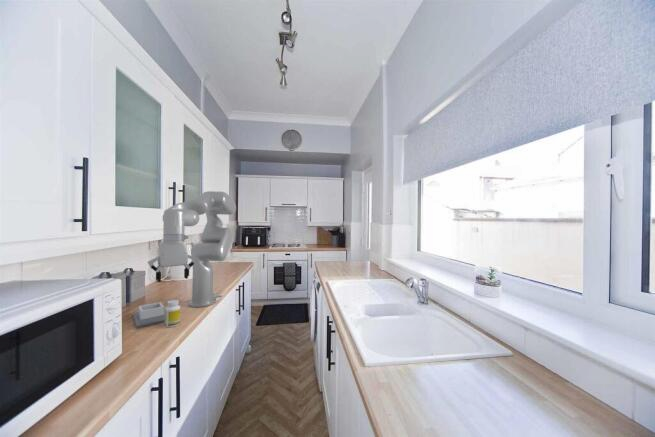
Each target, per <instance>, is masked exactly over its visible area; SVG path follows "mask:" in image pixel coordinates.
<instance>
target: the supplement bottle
mask: <svg viewBox="0 0 655 437" xmlns="http://www.w3.org/2000/svg"><path fill="white" fill-rule="evenodd" d="M179 302H180V301H179V299H171V300H168V301H167V304H166V305H167V306H166V307H165V322H164V326H165V327H166V328H172V327H173V328H174V327H177V326H179V325H180V323H181V306H180V305H179Z"/></svg>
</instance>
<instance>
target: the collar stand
mask: <svg viewBox="0 0 655 437" xmlns="http://www.w3.org/2000/svg"><path fill="white" fill-rule="evenodd" d="M165 309H166V307H165V305H163V302H162V301H160V302H154V303H148V304H143V305H138V307H137V312H133V313H132V316H133V320H134V323H135V327H136V329H140V328H145V327H149V326H155V325H158V324H165Z"/></svg>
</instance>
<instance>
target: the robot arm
mask: <svg viewBox="0 0 655 437" xmlns="http://www.w3.org/2000/svg"><path fill="white" fill-rule="evenodd" d="M236 211H237V206H236V202H235V200H233V198H232V197H231V196H230V195H229V194H228V193H226V192H224V191H213V190H212V191H211V190H210V191H204V192H203V193H201V194H200V195H198V196H196V197H195V198H193V199H190V200H186V201H183V202H179V203H176V204H174V205H172V206H169V207H168V208H167V209H165V210H164V211H163V214H162V222H163V227H162V228H163V233H162V241H160V243H159V244H160V245H159V249H158V256H156V257H154V258H153V259H150V260H149V261H147V264H148V266H149V268H151V270H153V271H154V272H155V280H156V281H157V282H158V283H160V282H161V281H162V272H161V271H162V270H163V268H167V267H168V268H169V267H180V266H184V269H183V270H184V272H183V273H184V275H183V278H184V279H189V276H190V269H191V267H192V288H191V290H192V294H191V297H192V298H191V300H190V301H189V302H188V306H189V307H192V308H203V307H208V306H212V305H214V304H215V303H216V302H217V300H216V299H217V298H221V297H223V293H218V292H217V293H214V292H213V291H214V290H213V288H214V268H213V265H212V264H211V262H223V261H225V259H226V258H227V257H228V253H229V251H230V248H231V247H230V246H231V244H232V241H233V232H232V229H230V228H228V227H223V224H224V222H223V221H222V219H221V218H220V217H219V216H218V215H228V216H230V215H234V214H235V213H236ZM204 214H205V217H206V224H205V226H204V228H203V231H202V233H201V234H200V241H201V242H198V243H195V244H194V245H192V246H191V249H190V255H189V253H188V247H187V246H188V245H187V241H185V240H186V239H189V235H186V234H185V229H186V228H185V227H194V226H197V224H198V223H199V221H200V216H203V215H204ZM188 259H190V260H191V261H190V262H189V263H188V261H189V260H188ZM156 262H157V264H158V266H155V265H154V263H156Z"/></svg>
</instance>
